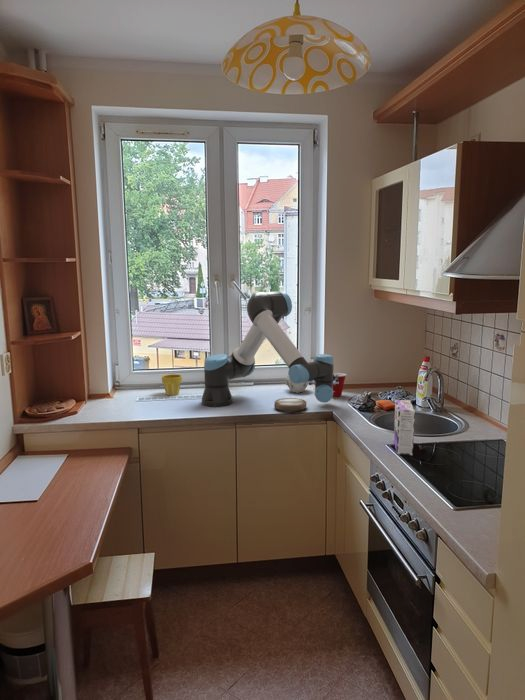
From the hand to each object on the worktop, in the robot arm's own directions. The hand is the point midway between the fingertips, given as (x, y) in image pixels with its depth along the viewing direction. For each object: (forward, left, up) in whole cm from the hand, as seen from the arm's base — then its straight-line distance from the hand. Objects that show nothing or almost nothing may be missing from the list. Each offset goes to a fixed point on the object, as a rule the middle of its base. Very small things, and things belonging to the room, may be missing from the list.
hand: (323, 374), depth 240 cm
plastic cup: (-8, +11, -14) cm, 19 cm away
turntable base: (+4, -19, -14) cm, 24 cm away
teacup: (-25, -4, -14) cm, 29 cm away
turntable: (+4, -19, -14) cm, 24 cm away
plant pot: (-43, -67, -14) cm, 81 cm away
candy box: (+66, 0, -14) cm, 68 cm away
